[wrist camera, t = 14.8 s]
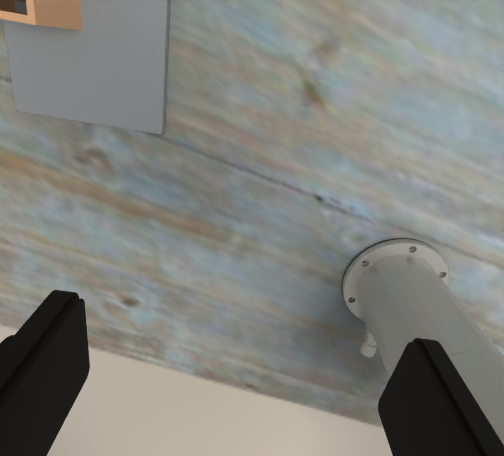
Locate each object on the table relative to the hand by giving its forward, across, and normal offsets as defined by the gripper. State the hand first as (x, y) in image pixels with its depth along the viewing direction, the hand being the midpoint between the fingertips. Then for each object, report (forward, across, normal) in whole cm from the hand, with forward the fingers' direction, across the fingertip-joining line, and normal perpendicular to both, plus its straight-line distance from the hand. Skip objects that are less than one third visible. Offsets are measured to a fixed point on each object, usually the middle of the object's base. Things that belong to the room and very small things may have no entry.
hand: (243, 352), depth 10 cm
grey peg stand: (+28, +16, -7) cm, 33 cm away
